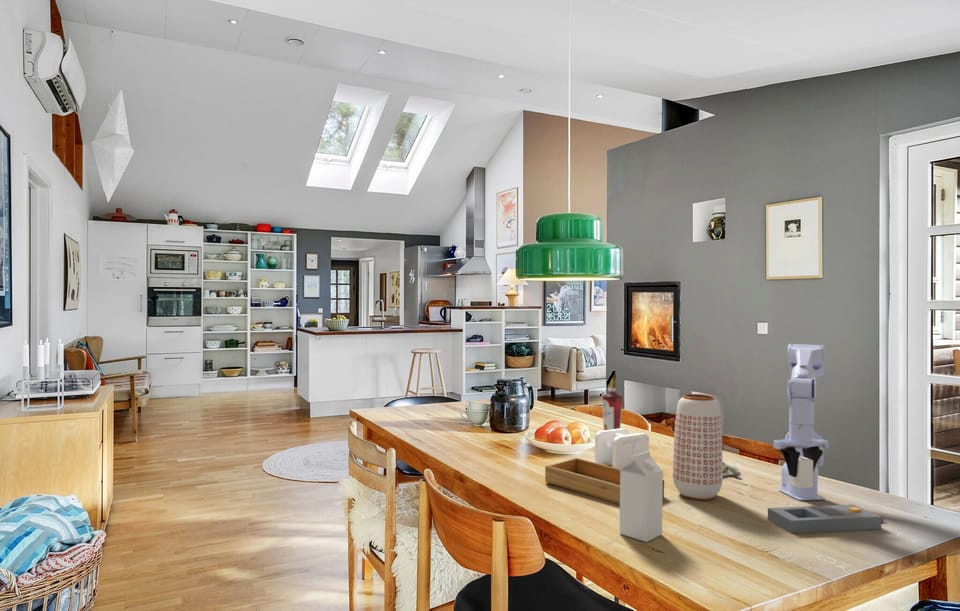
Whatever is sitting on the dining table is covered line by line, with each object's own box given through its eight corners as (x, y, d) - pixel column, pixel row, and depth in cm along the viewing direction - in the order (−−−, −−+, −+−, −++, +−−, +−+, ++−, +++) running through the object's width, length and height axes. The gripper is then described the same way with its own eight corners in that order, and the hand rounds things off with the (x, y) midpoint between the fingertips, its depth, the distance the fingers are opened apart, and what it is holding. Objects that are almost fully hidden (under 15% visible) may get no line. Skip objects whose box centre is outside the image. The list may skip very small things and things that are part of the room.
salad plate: (756, 476, 193) (757, 462, 193) (716, 483, 185) (716, 468, 185) (709, 462, 210) (709, 448, 210) (670, 467, 202) (670, 454, 202)
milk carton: (619, 534, 142) (620, 453, 142) (635, 526, 147) (636, 448, 147) (646, 543, 137) (647, 459, 137) (662, 534, 142) (663, 453, 142)
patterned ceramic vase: (699, 486, 180) (700, 391, 180) (733, 500, 168) (734, 398, 168) (662, 490, 176) (663, 393, 175) (694, 505, 163) (695, 400, 163)
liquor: (597, 445, 231) (598, 372, 231) (612, 443, 235) (613, 371, 235) (610, 449, 225) (611, 374, 225) (625, 447, 228) (626, 373, 228)
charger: (788, 483, 161) (789, 456, 161) (802, 482, 161) (802, 456, 161) (798, 487, 157) (799, 460, 157) (812, 487, 157) (813, 460, 157)
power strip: (791, 533, 144) (791, 518, 144) (767, 519, 153) (767, 505, 153) (897, 528, 148) (898, 513, 148) (868, 515, 157) (869, 501, 157)
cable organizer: (626, 460, 209) (627, 427, 209) (650, 468, 200) (650, 433, 200) (594, 466, 202) (594, 431, 202) (616, 474, 193) (617, 437, 192)
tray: (664, 498, 170) (664, 478, 170) (634, 511, 160) (635, 489, 160) (575, 475, 192) (576, 457, 192) (544, 484, 182) (545, 465, 182)
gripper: (785, 427, 154) (785, 480, 154) (837, 426, 156) (836, 479, 156) (768, 422, 161) (768, 473, 161) (818, 421, 163) (817, 471, 163)
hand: (800, 475), depth 159 cm, fingers closed on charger, 4 cm apart
